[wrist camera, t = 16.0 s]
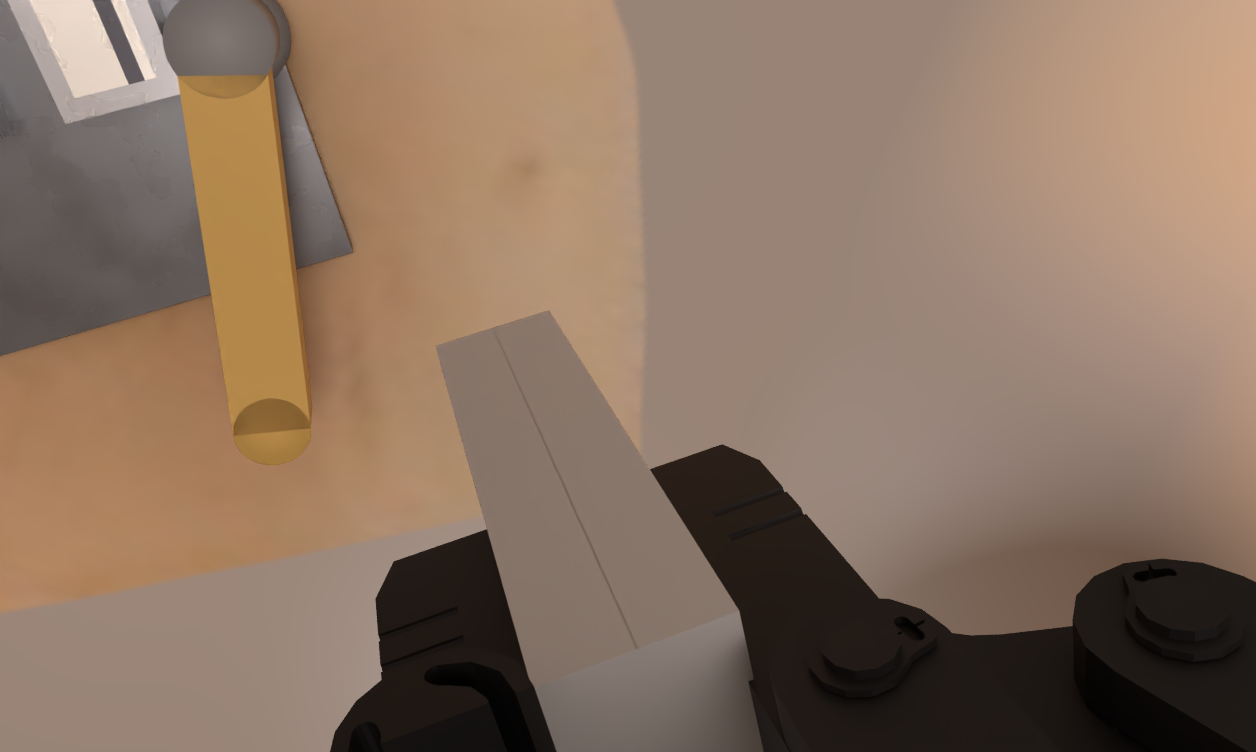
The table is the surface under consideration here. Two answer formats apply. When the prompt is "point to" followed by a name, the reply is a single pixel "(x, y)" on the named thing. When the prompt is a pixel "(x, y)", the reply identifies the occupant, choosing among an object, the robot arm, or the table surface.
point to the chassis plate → (117, 170)
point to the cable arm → (244, 217)
